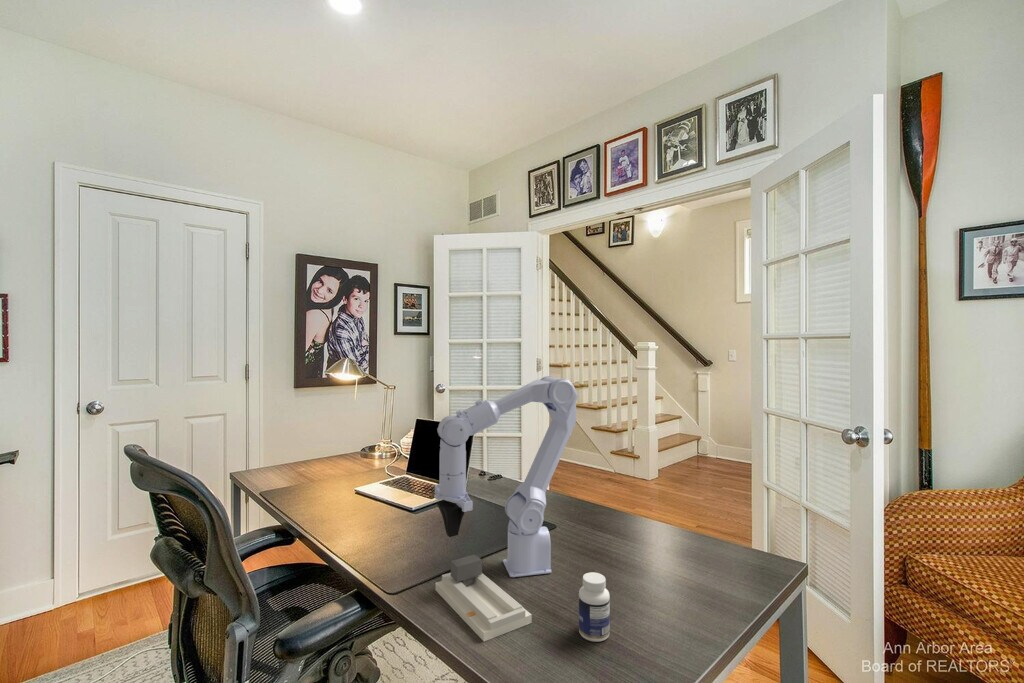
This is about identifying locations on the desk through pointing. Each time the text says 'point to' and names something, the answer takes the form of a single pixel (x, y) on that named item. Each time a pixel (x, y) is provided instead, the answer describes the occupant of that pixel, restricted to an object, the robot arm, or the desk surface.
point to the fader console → (483, 606)
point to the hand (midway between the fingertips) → (452, 535)
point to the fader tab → (466, 569)
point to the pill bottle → (594, 608)
